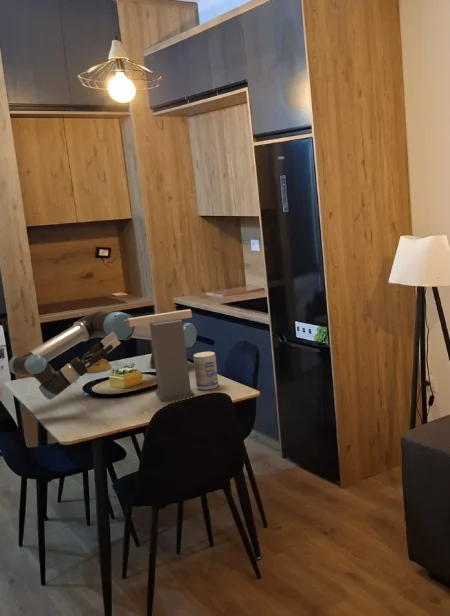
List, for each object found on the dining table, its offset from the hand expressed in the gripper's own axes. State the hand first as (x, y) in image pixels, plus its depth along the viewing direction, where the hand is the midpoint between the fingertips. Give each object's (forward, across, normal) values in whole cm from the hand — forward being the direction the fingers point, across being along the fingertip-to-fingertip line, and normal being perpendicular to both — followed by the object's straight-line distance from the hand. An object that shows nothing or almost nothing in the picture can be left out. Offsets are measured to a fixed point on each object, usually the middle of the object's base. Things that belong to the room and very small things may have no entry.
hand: (117, 337), depth 264 cm
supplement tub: (+17, -2, -42) cm, 46 cm away
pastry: (-21, -66, -21) cm, 72 cm away
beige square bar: (+18, 0, -6) cm, 19 cm away
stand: (+4, 0, -35) cm, 35 cm away
